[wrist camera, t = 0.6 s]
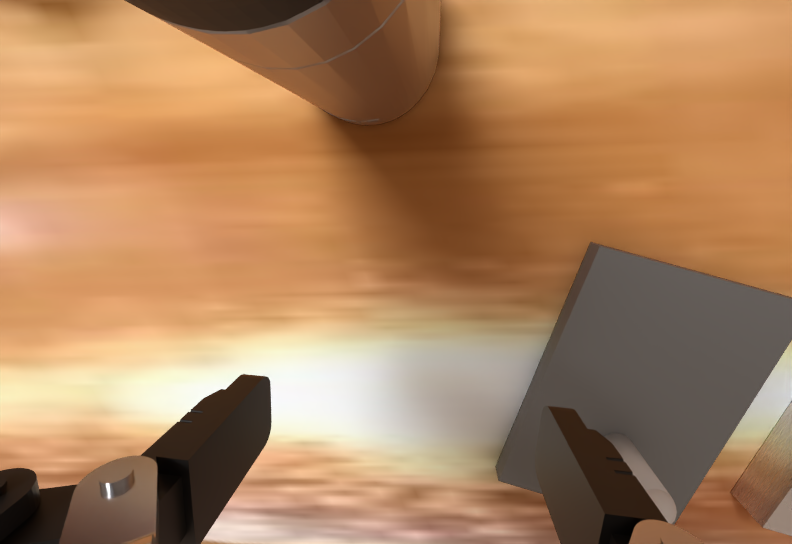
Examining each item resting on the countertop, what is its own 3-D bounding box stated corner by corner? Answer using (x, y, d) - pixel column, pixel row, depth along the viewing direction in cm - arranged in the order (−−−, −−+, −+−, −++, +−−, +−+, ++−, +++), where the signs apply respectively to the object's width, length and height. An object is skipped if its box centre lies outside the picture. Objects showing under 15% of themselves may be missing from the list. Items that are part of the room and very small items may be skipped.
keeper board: (590, 241, 25) (654, 270, 18) (792, 297, 25) (941, 350, 18) (495, 466, 31) (514, 558, 24) (658, 514, 31) (729, 624, 23)
